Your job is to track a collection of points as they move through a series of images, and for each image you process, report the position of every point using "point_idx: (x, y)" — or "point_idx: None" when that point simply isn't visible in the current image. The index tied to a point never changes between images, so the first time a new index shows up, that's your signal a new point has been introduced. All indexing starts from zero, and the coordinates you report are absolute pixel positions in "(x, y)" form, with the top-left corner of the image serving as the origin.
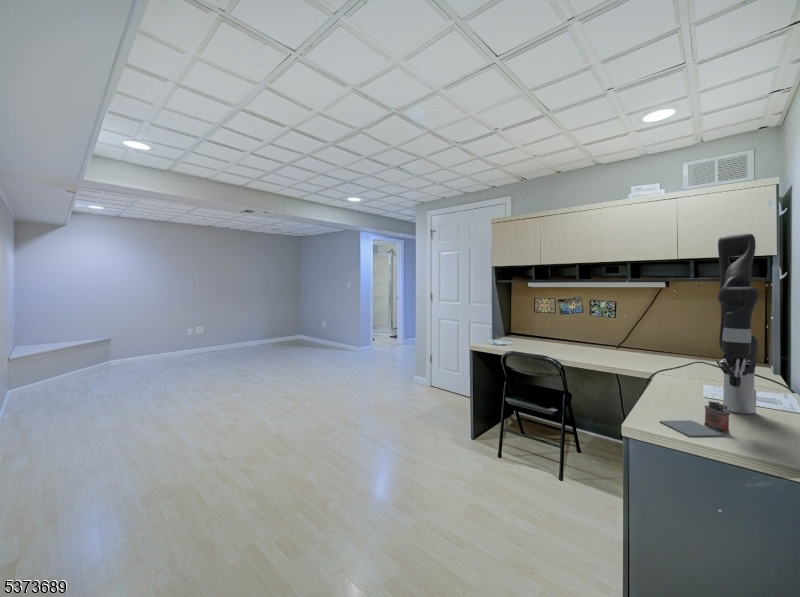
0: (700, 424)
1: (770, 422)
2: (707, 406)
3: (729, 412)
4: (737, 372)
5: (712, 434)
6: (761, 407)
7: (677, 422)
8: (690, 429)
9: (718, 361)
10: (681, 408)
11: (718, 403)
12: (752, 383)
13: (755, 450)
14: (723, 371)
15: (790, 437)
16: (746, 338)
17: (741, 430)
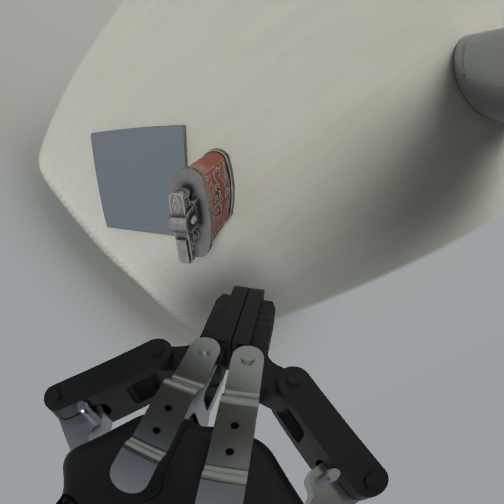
0: (182, 163)
1: (469, 183)
2: (178, 183)
3: (206, 253)
4: (210, 402)
5: (160, 230)
6: None
7: (126, 144)
8: (128, 195)
9: (50, 407)
10: None
11: (183, 232)
12: None
13: (198, 297)
14: (133, 354)
15: (379, 272)
16: None
17: (292, 209)
